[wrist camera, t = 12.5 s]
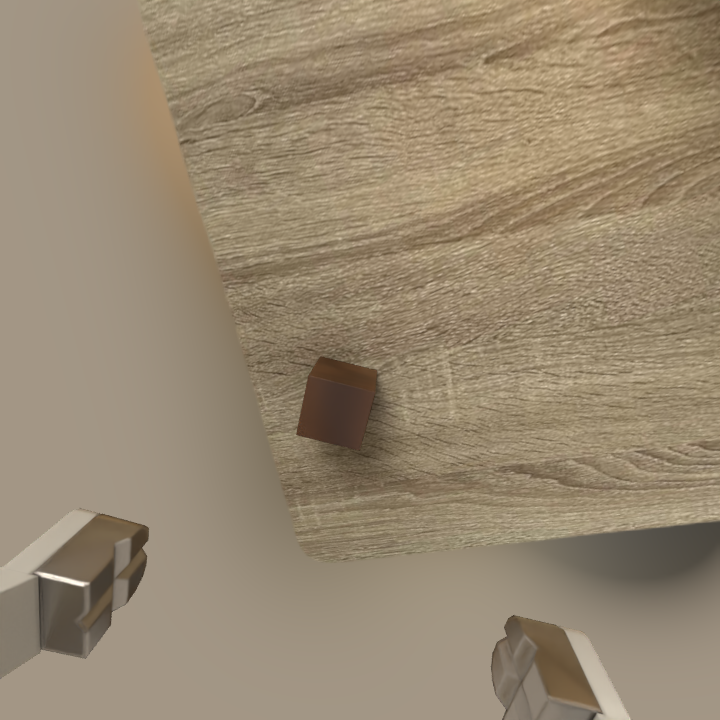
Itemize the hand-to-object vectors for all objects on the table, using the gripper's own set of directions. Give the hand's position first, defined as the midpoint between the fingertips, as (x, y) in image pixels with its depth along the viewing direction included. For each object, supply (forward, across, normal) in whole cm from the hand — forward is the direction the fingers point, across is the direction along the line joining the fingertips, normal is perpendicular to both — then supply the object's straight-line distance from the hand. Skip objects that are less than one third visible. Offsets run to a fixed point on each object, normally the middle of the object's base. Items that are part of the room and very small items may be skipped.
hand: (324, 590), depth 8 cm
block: (+20, +1, +3) cm, 21 cm away
